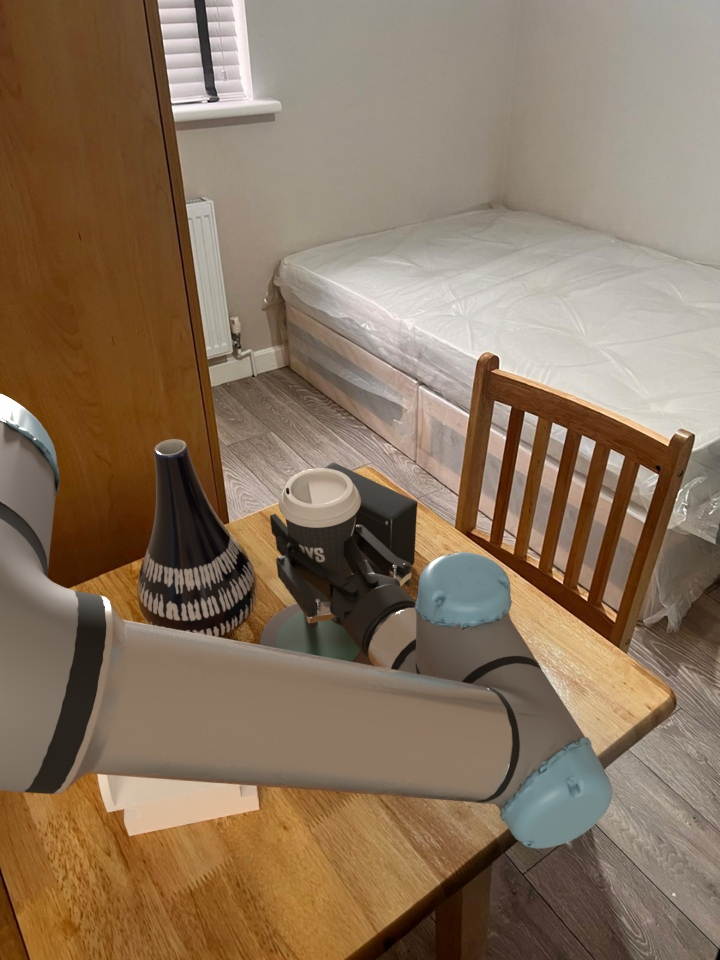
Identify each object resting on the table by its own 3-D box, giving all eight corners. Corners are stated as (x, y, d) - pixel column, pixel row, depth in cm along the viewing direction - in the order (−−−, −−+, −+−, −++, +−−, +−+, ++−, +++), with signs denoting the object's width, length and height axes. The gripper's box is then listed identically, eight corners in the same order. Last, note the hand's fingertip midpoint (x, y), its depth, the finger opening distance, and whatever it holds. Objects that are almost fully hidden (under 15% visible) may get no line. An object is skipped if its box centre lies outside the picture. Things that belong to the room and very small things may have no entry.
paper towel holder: (395, 682, 93) (396, 602, 85) (271, 712, 90) (260, 632, 82) (361, 598, 106) (359, 521, 98) (251, 621, 102) (240, 544, 94)
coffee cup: (300, 554, 97) (291, 460, 88) (370, 563, 95) (368, 468, 87) (277, 605, 89) (265, 507, 81) (353, 616, 88) (349, 517, 79)
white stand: (126, 861, 75) (85, 756, 65) (132, 754, 86) (97, 649, 75) (263, 832, 78) (244, 726, 67) (252, 731, 88) (234, 626, 78)
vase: (285, 618, 103) (266, 440, 86) (197, 688, 93) (156, 503, 77) (212, 570, 112) (181, 401, 95) (124, 630, 102) (73, 452, 85)
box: (417, 562, 112) (419, 500, 106) (389, 585, 108) (389, 522, 101) (336, 519, 122) (333, 459, 115) (308, 538, 118) (303, 478, 111)
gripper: (324, 695, 73) (230, 564, 89) (461, 626, 80) (351, 517, 96) (320, 643, 68) (222, 516, 85) (465, 575, 76) (349, 470, 92)
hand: (291, 516), depth 91 cm, fingers closed on coffee cup, 4 cm apart
